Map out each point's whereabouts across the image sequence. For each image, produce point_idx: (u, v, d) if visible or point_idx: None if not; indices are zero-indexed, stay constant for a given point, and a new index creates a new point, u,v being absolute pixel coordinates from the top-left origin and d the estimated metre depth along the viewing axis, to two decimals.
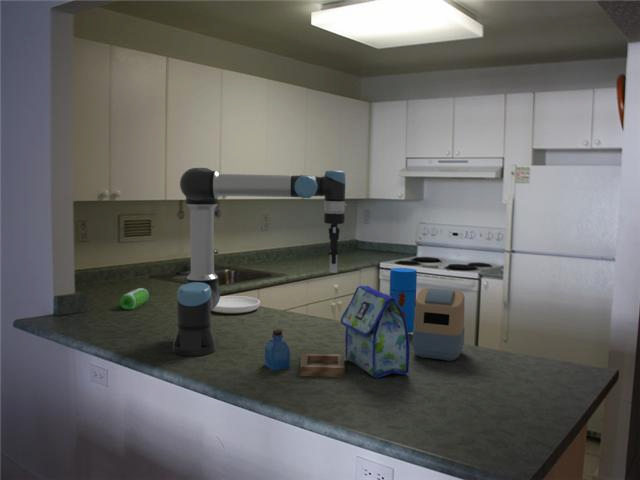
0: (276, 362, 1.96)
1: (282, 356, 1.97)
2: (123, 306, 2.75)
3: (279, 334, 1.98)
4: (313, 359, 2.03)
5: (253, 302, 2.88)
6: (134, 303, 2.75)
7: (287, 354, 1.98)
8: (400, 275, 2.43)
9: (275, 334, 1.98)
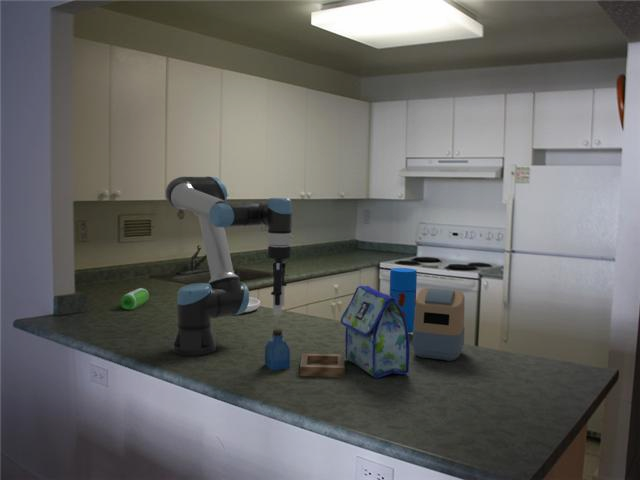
0: (276, 362, 1.96)
1: (282, 356, 1.97)
2: (124, 306, 2.75)
3: (279, 334, 1.98)
4: (313, 359, 2.03)
5: (253, 302, 2.88)
6: (135, 303, 2.75)
7: (287, 354, 1.98)
8: (400, 275, 2.43)
9: (275, 334, 1.98)
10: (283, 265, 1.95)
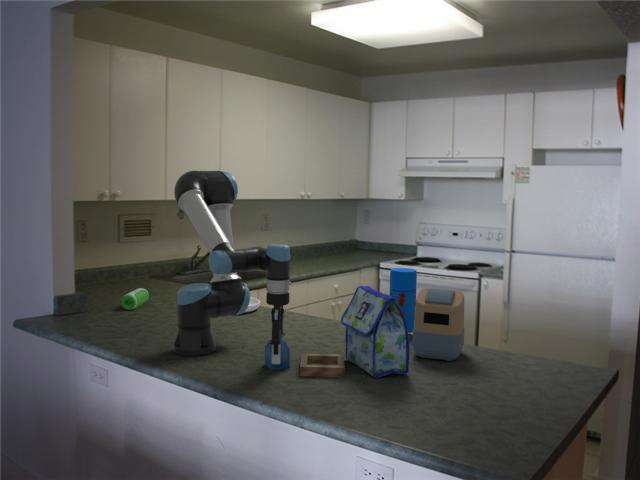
0: None
1: (282, 356, 1.97)
2: (124, 306, 2.75)
3: None
4: (313, 359, 2.03)
5: (253, 302, 2.88)
6: (135, 303, 2.75)
7: (287, 354, 1.98)
8: (400, 275, 2.43)
9: None
10: (281, 312, 1.96)
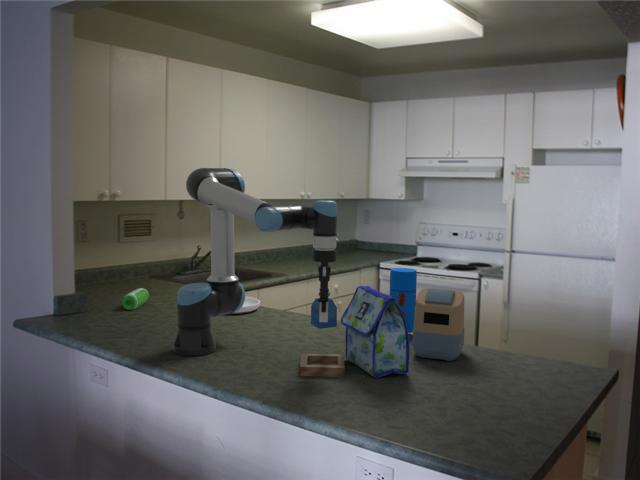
0: None
1: (330, 314, 1.93)
2: (125, 306, 2.75)
3: None
4: (313, 359, 2.03)
5: (253, 302, 2.88)
6: (136, 303, 2.75)
7: (334, 312, 1.94)
8: (400, 275, 2.43)
9: None
10: (329, 269, 1.92)
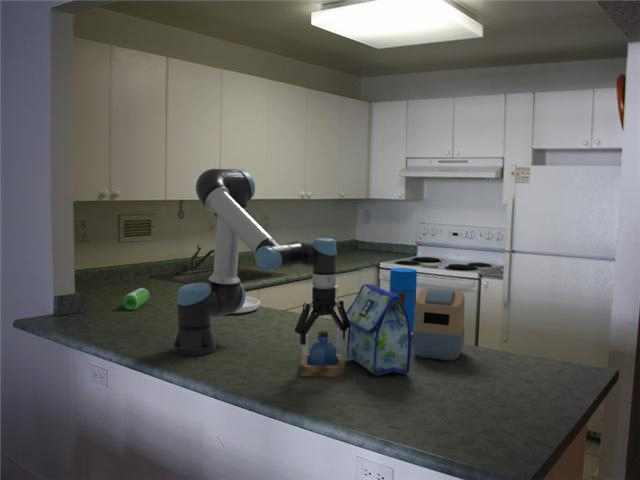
0: (313, 362, 1.96)
1: (319, 358, 1.95)
2: (126, 306, 2.75)
3: (321, 336, 1.96)
4: None
5: (253, 302, 2.88)
6: (137, 303, 2.75)
7: (323, 358, 1.94)
8: (400, 275, 2.43)
9: None
10: (320, 306, 1.93)
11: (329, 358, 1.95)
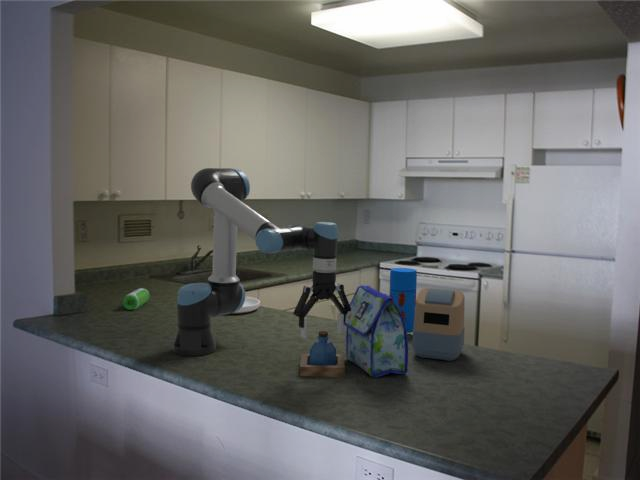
0: (313, 362, 1.96)
1: (319, 358, 1.95)
2: (126, 306, 2.75)
3: (321, 336, 1.96)
4: None
5: (253, 302, 2.88)
6: (137, 303, 2.75)
7: (323, 358, 1.94)
8: (400, 275, 2.43)
9: None
10: (320, 290, 1.93)
11: (329, 358, 1.95)
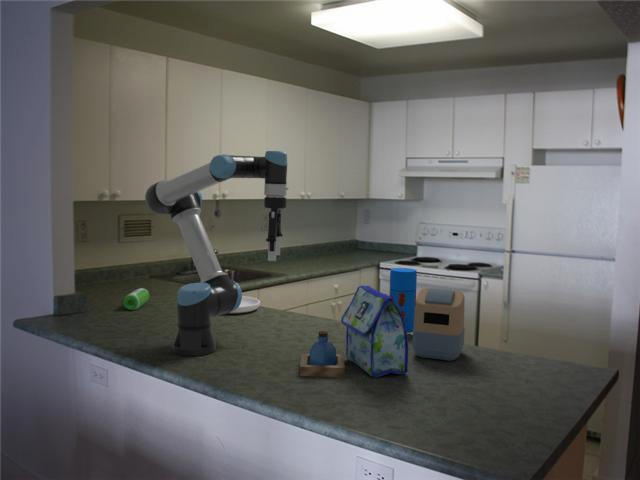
0: (313, 362, 1.96)
1: (319, 358, 1.95)
2: (127, 306, 2.75)
3: (321, 336, 1.96)
4: None
5: (253, 302, 2.88)
6: (138, 303, 2.75)
7: (323, 358, 1.94)
8: (400, 275, 2.43)
9: None
10: (278, 215, 2.06)
11: (329, 358, 1.95)
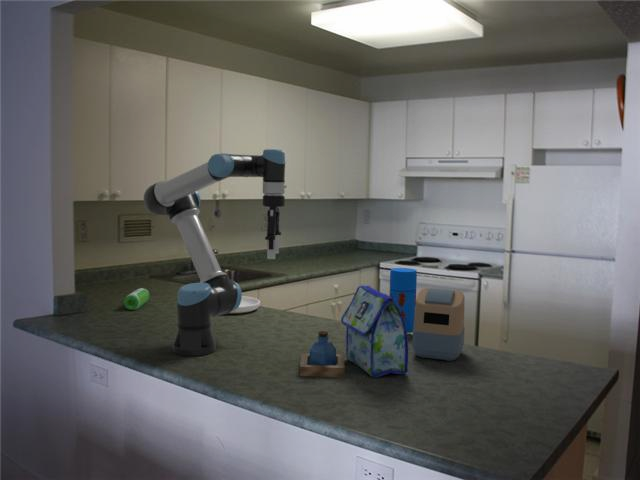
0: (313, 362, 1.96)
1: (319, 358, 1.95)
2: (127, 306, 2.75)
3: (321, 336, 1.96)
4: None
5: (253, 302, 2.88)
6: (139, 303, 2.75)
7: (323, 358, 1.94)
8: (400, 275, 2.43)
9: None
10: (277, 213, 2.07)
11: (329, 358, 1.95)
